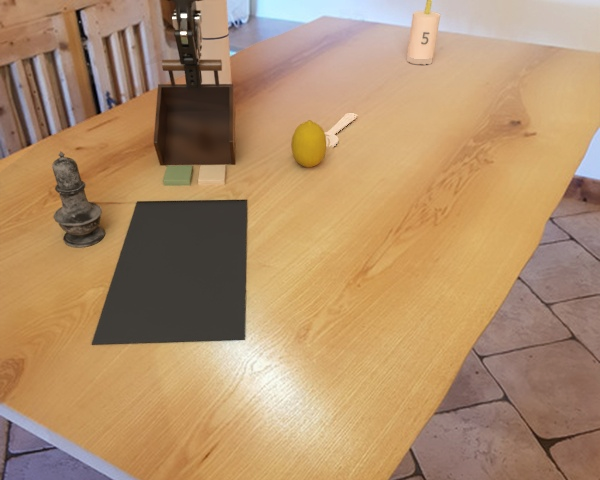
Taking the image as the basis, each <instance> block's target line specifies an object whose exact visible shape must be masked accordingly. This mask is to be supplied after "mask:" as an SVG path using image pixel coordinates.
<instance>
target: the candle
mask: <svg viewBox="0 0 600 480" xmlns="http://www.w3.org/2000/svg"><path fill="white" fill-rule="evenodd" d="M432 3H433V0H426V2H425V7H424V10H416V11H413V12H412V17H411V23H410V24H411V26H410V33H409V40H408V47H407V54H406V56H407V55H408V56H409V57H411V58H414V59H429V58H432V57H433V58H434V56H435V50H436V44H437V37H438V32H439V25H440V20H441V14H440V13H439V12H436V11H432V10H431V9H432Z"/></svg>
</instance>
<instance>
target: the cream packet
mask: <svg viewBox="0 0 600 480" xmlns="http://www.w3.org/2000/svg"><path fill="white" fill-rule="evenodd" d="M226 174H227V165H199V171H198V177H197V186H225V184H226Z"/></svg>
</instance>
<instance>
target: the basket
mask: <svg viewBox="0 0 600 480" xmlns="http://www.w3.org/2000/svg"><path fill="white" fill-rule="evenodd" d="M161 68H162V71H163V72H168V76H169V81H170V83H162V84H161V83H158V84H157V94H156V105H155V107H156V108H155V117H154V130H153V131H154V132H153V146H154V150H155V152H156V156H157V160H158V163H159V166H161V167H162V166H189V165H192V166H200V165H226V166H227V165H228V166H231V165H232V166H233V165H236V104H235V103H236V101H235V91H234V84H233V83H232V84H219V77H218V71H222V61H221V60H200V63H199V70H200V71H214V77H215V84H201V88H200V89H199V90H188V89H187V87H186V83H176V79H175V75H174V72H185V71H184V65H183V64H181V62H180V59H162V60H161Z"/></svg>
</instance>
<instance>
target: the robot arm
mask: <svg viewBox="0 0 600 480" xmlns="http://www.w3.org/2000/svg"><path fill="white" fill-rule="evenodd" d="M165 1H167V2H173V3H174V5H175V9H174V10H173V13H172V14H171V21H172V27H173V29H174V32H173V37H174V38H175V44H176V47H177V53H178V56H179V60H180V62H181V64H183V65H184V71H183V72H184V78H185V79H184V80H185V84H186V87H187V89H188V90H199V89H200V88H201V83H202V75H201V71H200V70H199V63H200V59H201V53H200V51H201V49H202V45H201V42H202V30H201V22H202V13H201V10H197V8H196V1H202V0H165Z"/></svg>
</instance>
